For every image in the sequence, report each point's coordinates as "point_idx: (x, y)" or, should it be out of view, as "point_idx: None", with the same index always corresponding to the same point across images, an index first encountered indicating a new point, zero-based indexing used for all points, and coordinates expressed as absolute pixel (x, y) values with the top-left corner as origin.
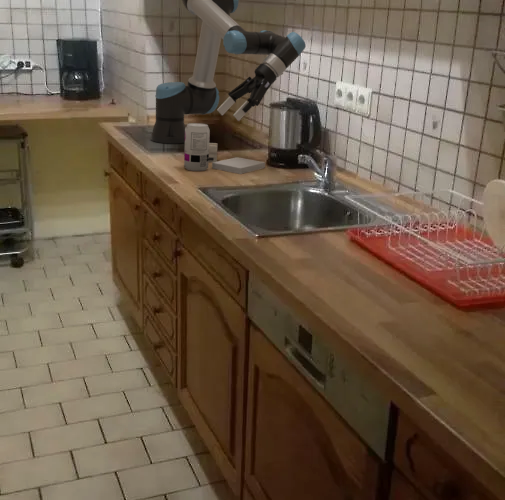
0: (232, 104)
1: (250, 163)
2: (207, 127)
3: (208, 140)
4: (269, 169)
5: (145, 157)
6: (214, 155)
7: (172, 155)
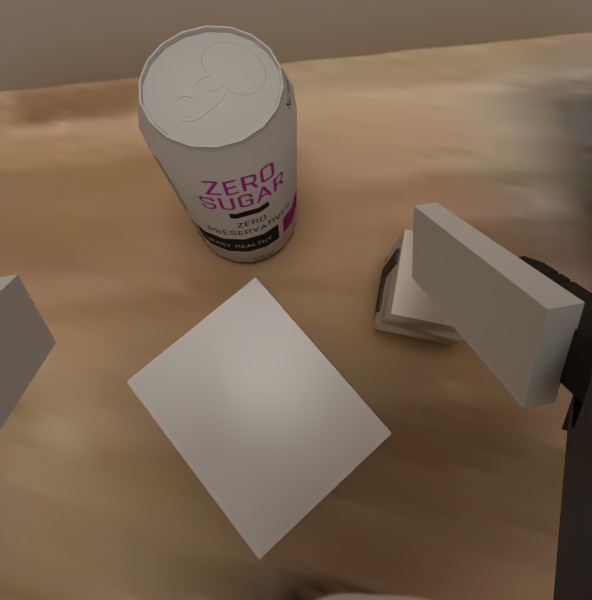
0: (492, 368)
1: (231, 463)
2: (167, 145)
3: (186, 197)
4: (227, 565)
5: (459, 72)
6: (382, 311)
7: (516, 172)
